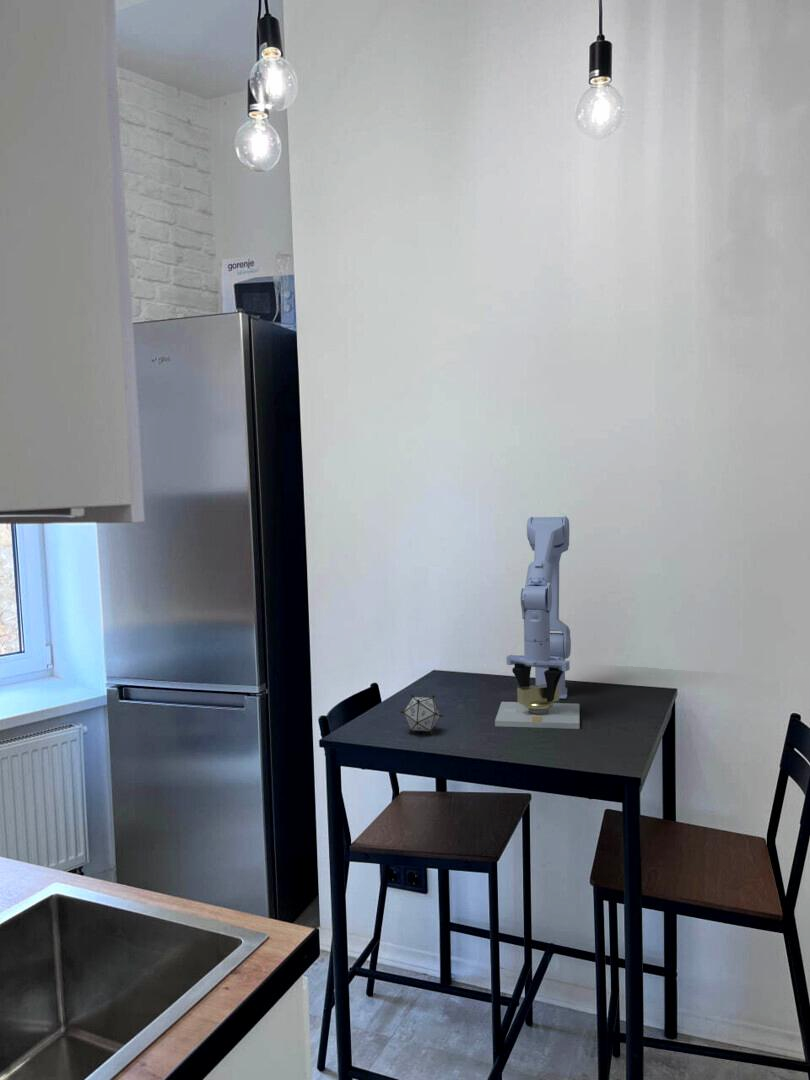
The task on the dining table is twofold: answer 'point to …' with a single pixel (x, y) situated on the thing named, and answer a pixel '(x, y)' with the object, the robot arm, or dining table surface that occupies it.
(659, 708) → the dining table surface
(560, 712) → the lock plate
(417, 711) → the game die
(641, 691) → the dining table surface
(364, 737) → the dining table surface
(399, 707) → the dining table surface
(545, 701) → the door handle
